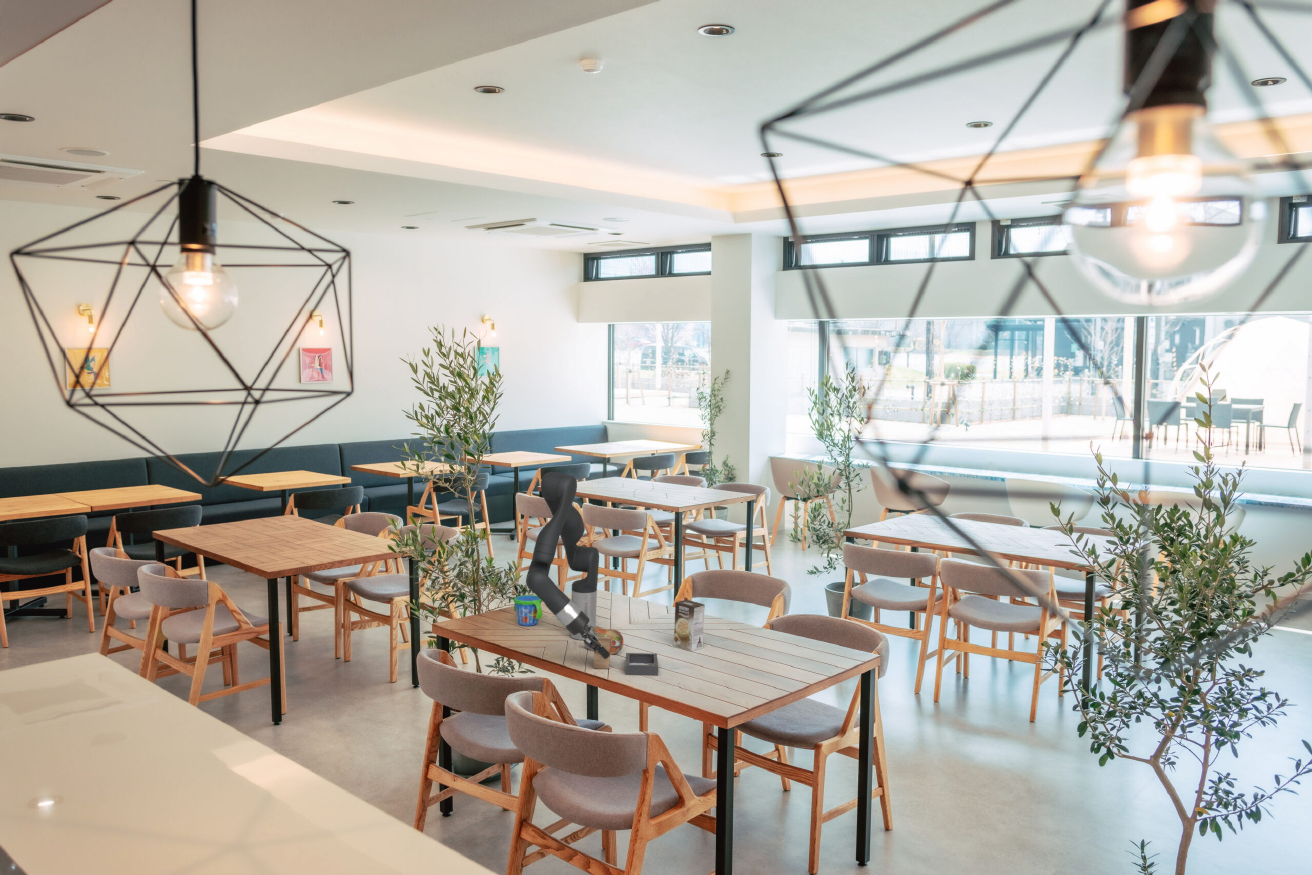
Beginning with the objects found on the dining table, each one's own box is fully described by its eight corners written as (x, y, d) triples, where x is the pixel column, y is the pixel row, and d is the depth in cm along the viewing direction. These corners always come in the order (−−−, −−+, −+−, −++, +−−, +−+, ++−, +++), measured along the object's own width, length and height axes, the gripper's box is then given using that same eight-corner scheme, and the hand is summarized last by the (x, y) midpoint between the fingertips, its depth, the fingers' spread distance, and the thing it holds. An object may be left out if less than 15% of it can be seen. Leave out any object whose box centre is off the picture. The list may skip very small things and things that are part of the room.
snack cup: (505, 621, 356) (506, 595, 355) (529, 617, 362) (530, 592, 361) (525, 630, 343) (525, 603, 343) (549, 626, 349) (550, 600, 349)
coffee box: (672, 645, 329) (674, 601, 328) (684, 642, 334) (685, 599, 333) (692, 651, 323) (693, 606, 322) (703, 648, 328) (705, 603, 327)
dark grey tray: (625, 661, 309) (626, 652, 309) (656, 662, 309) (656, 653, 309) (625, 674, 295) (625, 665, 295) (657, 675, 295) (658, 666, 295)
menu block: (594, 664, 303) (595, 636, 303) (609, 665, 303) (610, 636, 303) (593, 668, 300) (594, 639, 299) (609, 668, 300) (610, 639, 299)
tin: (582, 649, 322) (583, 625, 321) (587, 647, 324) (588, 623, 324) (619, 656, 315) (620, 632, 314) (624, 654, 317) (625, 630, 317)
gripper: (579, 615, 293) (616, 653, 294) (581, 604, 307) (617, 641, 308) (562, 630, 293) (599, 669, 295) (565, 619, 308) (600, 656, 309)
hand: (608, 654), depth 301 cm, fingers closed on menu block, 3 cm apart
